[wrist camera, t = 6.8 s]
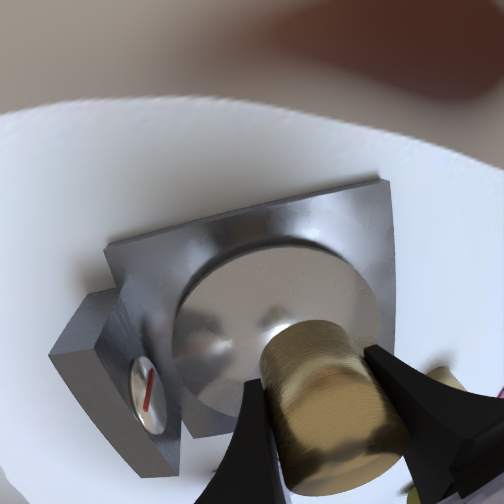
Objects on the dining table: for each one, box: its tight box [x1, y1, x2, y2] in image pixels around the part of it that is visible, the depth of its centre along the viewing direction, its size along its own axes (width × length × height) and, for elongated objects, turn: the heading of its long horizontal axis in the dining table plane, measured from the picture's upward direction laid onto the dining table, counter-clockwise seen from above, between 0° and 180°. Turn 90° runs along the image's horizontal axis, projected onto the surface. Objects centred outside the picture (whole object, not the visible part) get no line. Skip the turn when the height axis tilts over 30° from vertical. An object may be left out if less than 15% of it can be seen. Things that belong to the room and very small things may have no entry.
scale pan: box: [172, 244, 380, 418], centre depth 21 cm, size 14×14×1 cm
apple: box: [407, 486, 421, 504], centre depth 35 cm, size 8×8×7 cm
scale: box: [48, 178, 396, 478], centre depth 19 cm, size 18×21×7 cm
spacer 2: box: [426, 367, 467, 391], centre depth 25 cm, size 4×4×6 cm
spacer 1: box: [259, 320, 410, 496], centre depth 11 cm, size 4×4×6 cm
